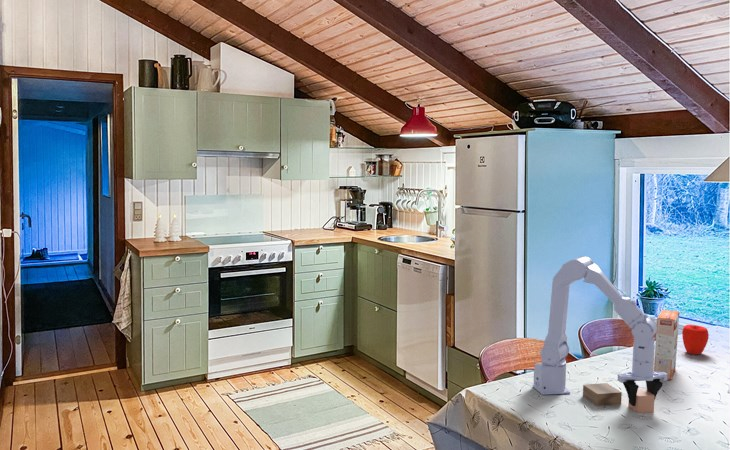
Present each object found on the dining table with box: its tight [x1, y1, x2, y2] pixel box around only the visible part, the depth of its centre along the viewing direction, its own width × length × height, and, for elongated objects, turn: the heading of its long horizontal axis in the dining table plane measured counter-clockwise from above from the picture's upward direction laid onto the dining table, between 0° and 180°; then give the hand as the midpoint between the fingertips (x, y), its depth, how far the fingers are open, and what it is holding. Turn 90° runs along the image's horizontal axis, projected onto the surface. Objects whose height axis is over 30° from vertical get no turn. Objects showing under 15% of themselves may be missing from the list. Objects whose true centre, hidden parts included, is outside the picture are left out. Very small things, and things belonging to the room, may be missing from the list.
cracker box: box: [653, 309, 680, 381], centre depth 214 cm, size 14×6×21 cm, turn 148°
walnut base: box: [582, 382, 623, 407], centre depth 191 cm, size 8×8×4 cm
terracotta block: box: [627, 388, 656, 414], centre depth 184 cm, size 5×5×5 cm
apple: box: [681, 324, 710, 355], centre depth 238 cm, size 9×9×11 cm
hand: (641, 404), depth 184 cm, fingers closed on terracotta block, 5 cm apart
